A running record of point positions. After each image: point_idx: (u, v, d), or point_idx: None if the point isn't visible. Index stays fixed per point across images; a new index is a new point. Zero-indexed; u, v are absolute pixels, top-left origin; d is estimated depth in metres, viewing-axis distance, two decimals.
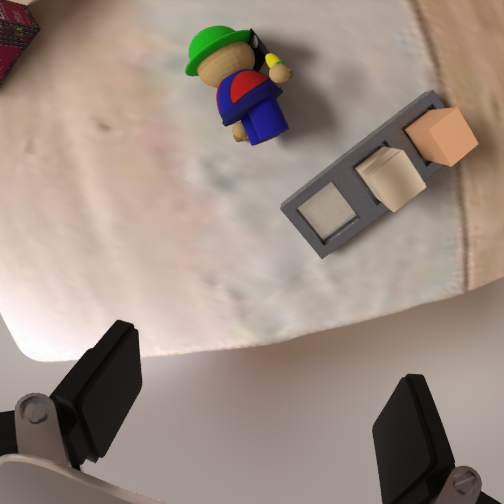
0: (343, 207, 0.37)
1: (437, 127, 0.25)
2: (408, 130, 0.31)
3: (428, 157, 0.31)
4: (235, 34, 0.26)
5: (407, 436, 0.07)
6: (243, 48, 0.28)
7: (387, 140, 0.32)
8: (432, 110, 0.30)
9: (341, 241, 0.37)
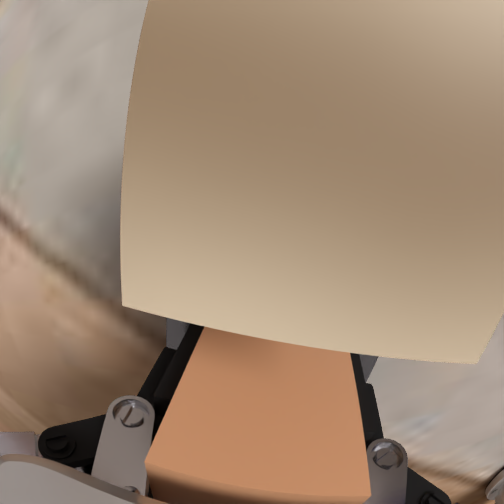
0: None
1: None
2: None
3: None
4: None
5: None
6: None
7: None
8: None
9: None
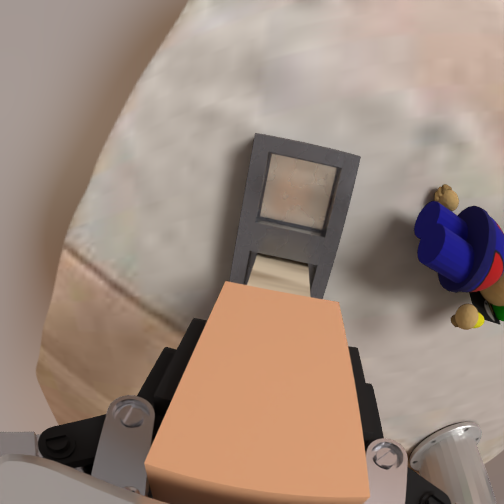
0: (282, 212, 0.26)
1: None
2: (340, 327, 0.10)
3: (225, 319, 0.10)
4: None
5: None
6: (501, 303, 0.21)
7: None
8: None
9: (252, 175, 0.24)
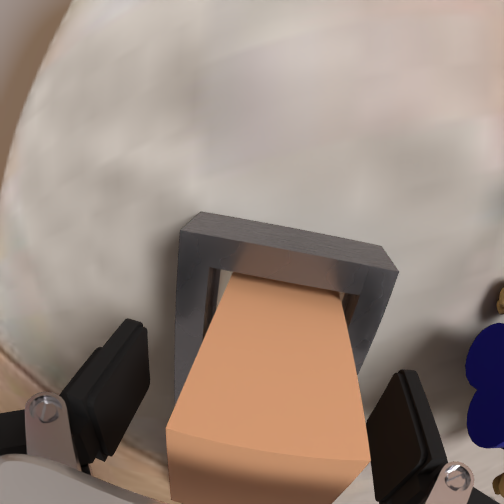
0: None
1: (337, 480, 0.06)
2: (340, 313, 0.11)
3: (234, 304, 0.11)
4: None
5: (399, 431, 0.08)
6: None
7: None
8: None
9: (184, 308, 0.12)
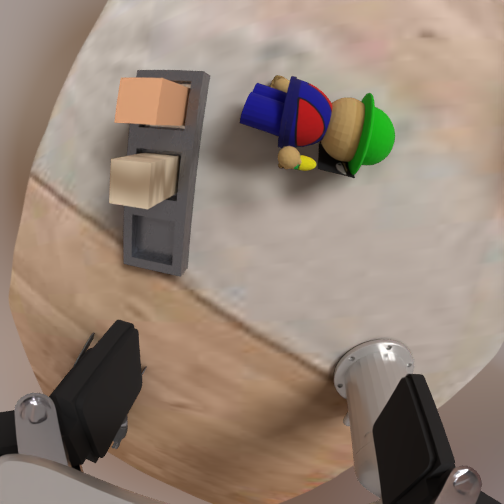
0: None
1: (156, 88, 0.25)
2: (184, 86, 0.30)
3: None
4: (359, 160, 0.27)
5: (407, 436, 0.07)
6: (342, 153, 0.28)
7: (174, 202, 0.35)
8: (179, 124, 0.31)
9: None
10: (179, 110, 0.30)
